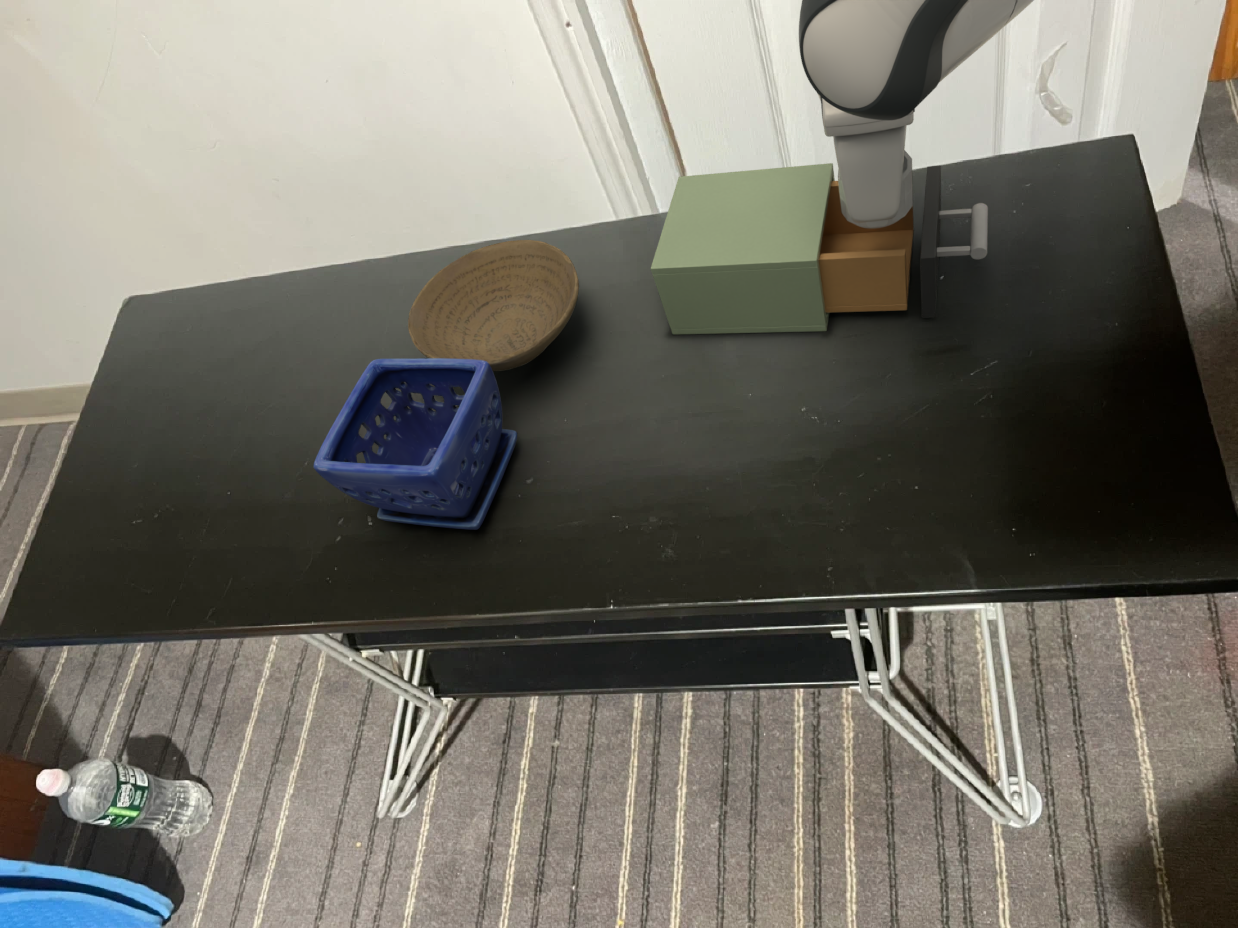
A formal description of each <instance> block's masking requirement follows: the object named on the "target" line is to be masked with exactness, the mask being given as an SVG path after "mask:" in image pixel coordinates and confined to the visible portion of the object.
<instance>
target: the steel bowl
mask: <svg viewBox="0 0 1238 928" xmlns="http://www.w3.org/2000/svg"><path fill="white" fill-rule="evenodd" d="M837 168H838V167H837ZM913 174H914V173H913V158H912V156H911V155H910V154H909V153H908V152H907V151H906V150H904V162H903V174H902V186H901V197H900V204H899V209H898V212H897V215H896V216H895V217H894V218H892V219H888V223H887V224H886V225H885V226H881V227H872V228H882V227H886V226H889V225H891V224H894V223H895V222H897V221H899V220H900V219H901V218H903V217H904V216H905V215H906V214H907V213H908V211H909V210H910V209H911V207H912V206H913V207H914V181H913V180H914V178H913V177H914V176H913ZM837 181H838V184H839V194H840V202H841V212H842V214H843V215H844V217H845V218H846V219H847V221H849V222H851V223H853V224H855V225H857V226H859V227H863V228H870V227H868V226H867V225H866V222H863V223H857V222H854V221H853V220H852V219H851V217H850V215H849V213H848V210H847V206H846V202H845V197H844V192H843V188H842V183H841V178H840V173H839V168H838V169H837Z"/></svg>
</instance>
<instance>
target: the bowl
mask: <svg viewBox="0 0 1238 928" xmlns="http://www.w3.org/2000/svg"><path fill="white" fill-rule="evenodd" d="M579 288H580V281H579V276H578V273H577V270H576V268H575V264H574V263H573V261H572V259H570V257H569V256H568V255H567V253H565V252H563V250H562V249H560V248H558V247H557V246H554V245H552V244H549V243H548V242H544V241H541V240H533V239H517V240H516V239H515V240H507V241H502V242H497V243H493V244H489V245H486V246H483V247H480V248H477V249H475V250H472V251H470V252H468V253H467V254H464V255H462V256H461V257H459V258H457V259H456V260H454V261H452V262H450V263H449V264H447V265H446V266H444V267H443V268H442V269H440V270H439V271H438V272H437V273H435V274H434V275H433V276H432V278H430V279H429V280H428V281H427V282H426V284H425V285H424V286H423V287H422V288H421V289H420V291H419V292H418V294H417V296H416V297H415V299H414V301H413V303H412V305H411V308H410V310H409V312H408V319H407V330H408V333H409V336H410V338H411V341H412V343H413V345H414V347H415V348H416V349H417V350H418V351H419V352H420V353H421V354H422V355H423V356H424V357H426V359H427V358H447V359H475V360H484V361H487V362H488V363H489V365H490V367H491V368H492V371H493V372H501V371H509V370H513V369H516V368H519V367H521V366H524V365H526V364H528V363H531V362H532V361H534V360H535V359H536V358H537V357H538V356H539V355H541V354H542V353H543V352H544V351H545V350H546V349H547V348H548V347H549V345H551V343H553V341H555V339H556V338H557V337H558V336H559V335H560V333H561V332H563V330H564V328H566V325H567V324H568V322H569V321H570V319H571V318H572V317H571V316H572V314H573V313H574V310H575V308H576V305H577V302H578V298H579V291H580V289H579Z"/></svg>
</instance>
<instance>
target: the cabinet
mask: <svg viewBox="0 0 1238 928" xmlns="http://www.w3.org/2000/svg"><path fill="white" fill-rule="evenodd" d="M832 181H836V179H835V171H834V163H833V162H829V163H818V164H806V165H796V166H794V165H793V166H786V167H785V166H784V167H772V168H762V169H751V170H739V171H728V172H716V173H706V174H705V173H704V174H695V175H681V176H678V178H677V181H676V184H675V188H674V191H673V194H672V198H671V202H670V204H669V207H668V211H667V214H666V217H665V220H664V224H663V226H662V230H661V233H660V237H659V239H658V243H657V247H656V250H655V252H654V256H653V259H652V262H651V266H650V271H651V274H652V278H653V281H654V285H655V286H656V289H657V292H658V295H659V298H660V301H661V304H662V307H663V310H664V313H665V316H666V319H667V323H668V325H669V329H670V331H671V334H672V335H712V334H713V335H715V334H754V333H755V334H759V333H761V334H762V333H802V332H804V333H805V332H810V333H811V332H827V331H828V325H829V319H830V318H829V317H830V312H828V313H826V311H825V304H824V296H823V289H822V282H821V275H820V268H819V262H818V261H819V255H820V249H821V243H822V236H823V230H824V224H825V218H826V212H827V206H828V200H829V194H830V188H831V182H832Z"/></svg>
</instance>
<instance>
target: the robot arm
mask: <svg viewBox="0 0 1238 928" xmlns="http://www.w3.org/2000/svg"><path fill="white" fill-rule="evenodd" d="M1034 1H1035V0H801V4H800V9H799V10H800V11H799V21H798V47H799V55H800V61H801V65H802V68H803V71H804V73H805V76H806V78H807V80H808V82H809V84H810V86H811V87H812V89H814V91H815V92H816V93H817V94H816V95H817V96H818V98H819V101H820V106H821V107H820V108H821V119H822V125H823V131H824V132H823V133H824V135H825V136H826V137H828V138H829V137H830V138H833V145H834V151H835V157H836V162H837V168H839V173H840V178H841V183H842V188H843V192H844V197H845V202H846V206H847V210H848V213H849V215H850V217H851V219H852V220H853V221H854V222H857V223H863V222H866V225H867V226H868V227H870V228H872V227H881V226H885V225H886V224H887V223H888V219H892V218H894V217H895V216H896V215H897V212H898V209H899V204H900V197H901V186H902V174H903V162H904V150H905V149H906V138H907V126H910V125H912V124H913V123H914V120H915V118H914V116H915V115H914V113H915V112H916V108H917V107H918V106H919V105H920V104H921V103H922V102H923V101H924V100H925V99H926V98H927V97H928V96H929V95H931V93H932V92H933V91H934V90H935V89H936V88H938V85H939V84H940V83H941V82H942V81H943V80H944V79H946V78H947V77H948V76H949V75H950V74H951V73H952V72H953V71H955V70H956V69H957V68H959V66H960V65H962V64H963V63H964V62H965V61H966V60H967V59H969V58H970V57H971V56H972V55H973V54H975V53H976V52H977V51H978V50H979V49H980V48H982V47H983V46H984V45H985V44H986V43H988V41H990V40H991V39H993V37H995V35H997V34H998V33H999V32H1000V31H1001V30H1003V29H1004V27H1006V26H1007V25H1008V24H1009V23H1010V22H1012V21H1013V20H1014V19H1015V18H1016V17H1017V16H1018V15H1020V14H1021V13H1022V12H1023V11H1024V10H1026V8H1027V7H1029V6H1030V5H1031V4H1032V3H1033V2H1034ZM905 151H906V150H905Z"/></svg>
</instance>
